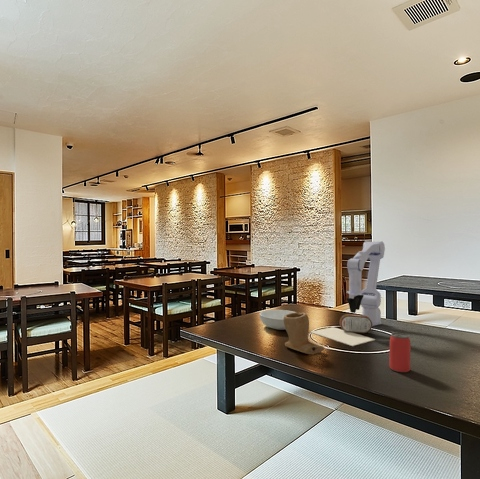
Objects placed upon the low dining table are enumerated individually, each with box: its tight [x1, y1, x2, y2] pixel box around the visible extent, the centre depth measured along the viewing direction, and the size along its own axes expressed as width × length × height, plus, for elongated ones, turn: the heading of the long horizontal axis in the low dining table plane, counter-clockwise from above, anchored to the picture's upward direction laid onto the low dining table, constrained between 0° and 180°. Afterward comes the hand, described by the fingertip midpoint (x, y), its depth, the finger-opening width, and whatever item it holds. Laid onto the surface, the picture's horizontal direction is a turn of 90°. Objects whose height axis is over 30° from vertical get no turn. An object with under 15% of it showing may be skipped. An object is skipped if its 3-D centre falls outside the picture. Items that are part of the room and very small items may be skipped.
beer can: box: [388, 332, 412, 373], centre depth 118 cm, size 7×7×12 cm
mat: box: [310, 326, 376, 347], centre depth 157 cm, size 16×24×1 cm, turn 34°
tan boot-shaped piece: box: [284, 311, 325, 355], centre depth 137 cm, size 15×12×15 cm
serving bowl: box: [259, 309, 295, 331], centre depth 171 cm, size 21×21×7 cm
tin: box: [338, 313, 373, 334], centre depth 163 cm, size 15×3×8 cm, turn 84°
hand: (355, 311), depth 166 cm, fingers open, 7 cm apart
